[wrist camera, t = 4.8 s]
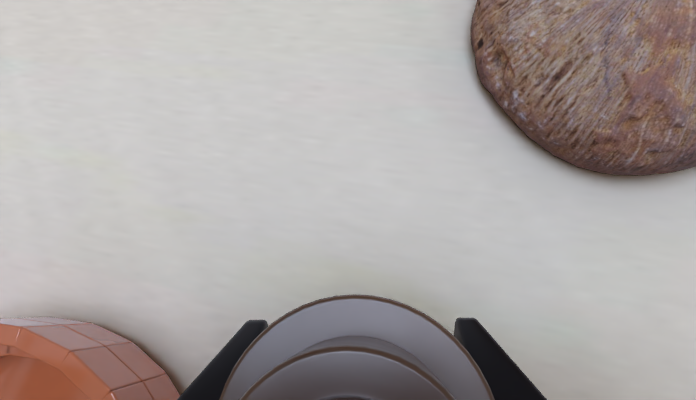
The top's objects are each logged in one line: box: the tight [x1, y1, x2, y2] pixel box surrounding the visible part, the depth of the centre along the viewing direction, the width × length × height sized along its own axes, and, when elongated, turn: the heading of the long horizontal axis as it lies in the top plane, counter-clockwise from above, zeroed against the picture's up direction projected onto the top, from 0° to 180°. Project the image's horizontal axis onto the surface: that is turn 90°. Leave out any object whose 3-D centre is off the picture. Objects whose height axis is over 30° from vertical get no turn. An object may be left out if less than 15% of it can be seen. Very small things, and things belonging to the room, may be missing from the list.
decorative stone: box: [471, 0, 696, 175], centre depth 16 cm, size 12×12×6 cm
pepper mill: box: [219, 295, 495, 400], centre depth 10 cm, size 4×4×13 cm
